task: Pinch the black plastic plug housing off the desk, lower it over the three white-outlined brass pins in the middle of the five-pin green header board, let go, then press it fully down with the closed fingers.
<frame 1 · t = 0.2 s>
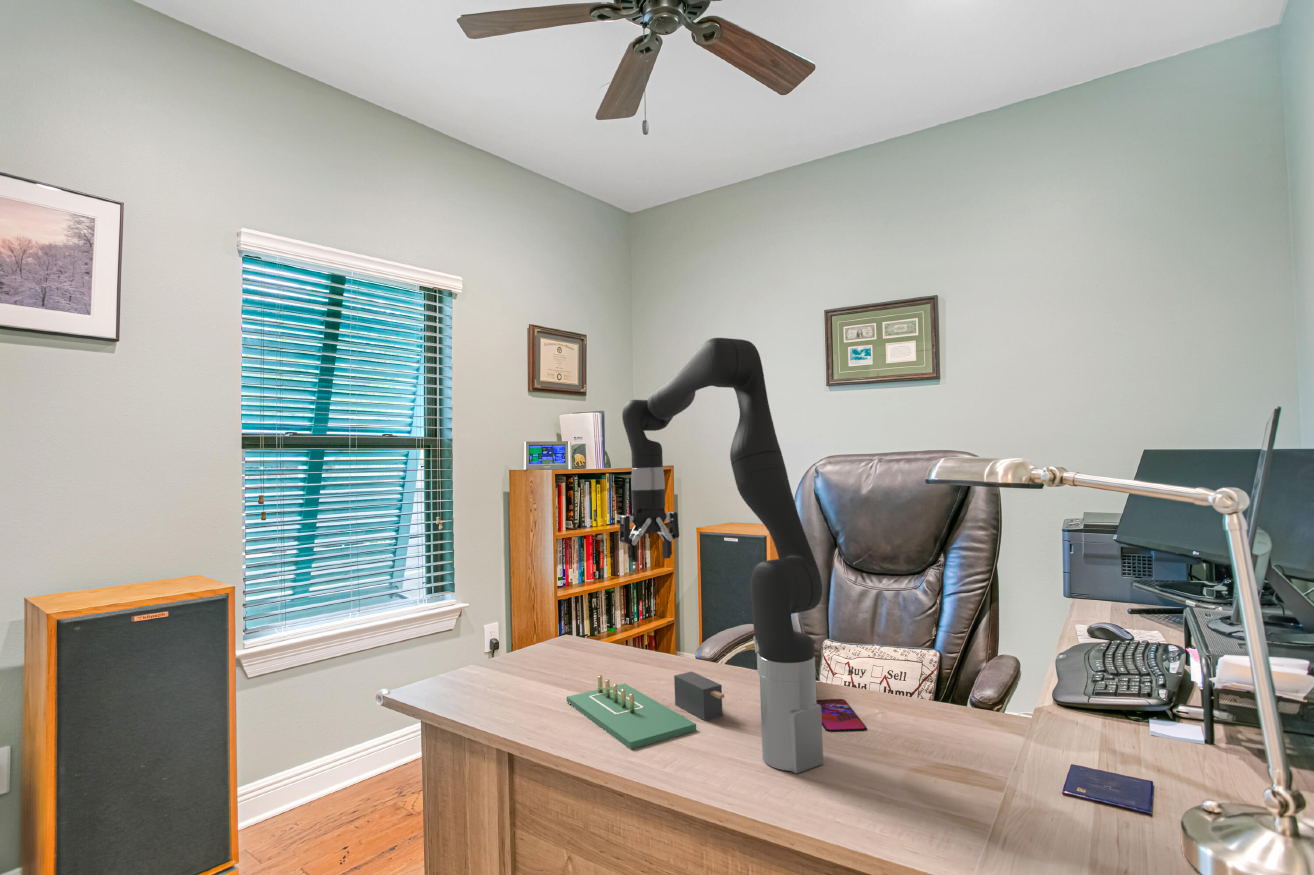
hand: (650, 559, 149), 28 cm above the table, fingers open, 8 cm apart
header board: (627, 715, 132), on the table
geiger counter: (765, 682, 149), on the table
smartphone: (836, 718, 129), on the table
plug housing: (698, 710, 134), on the table
header pins: (615, 693, 137), on the header board, point 3 cm above the table
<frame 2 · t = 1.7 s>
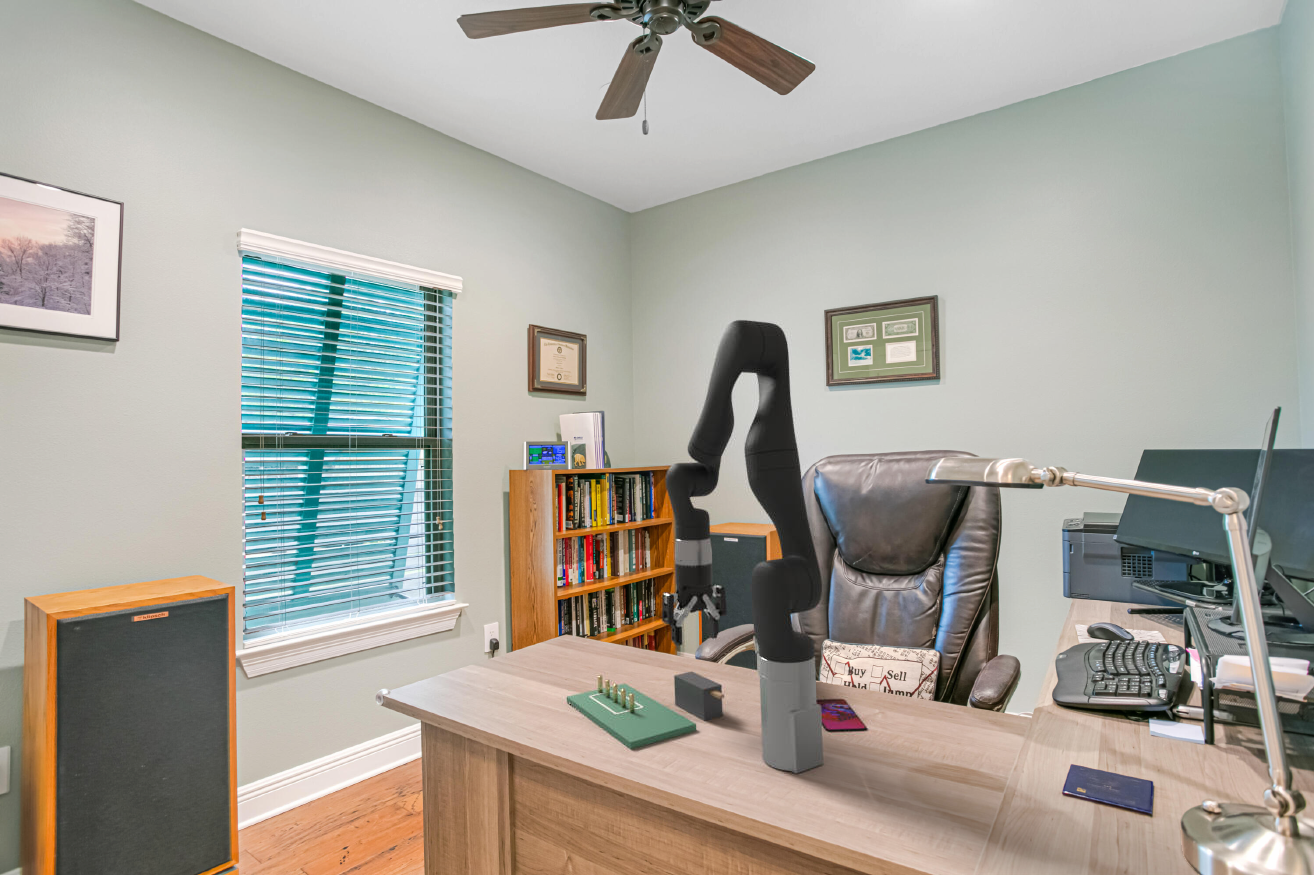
hand: (695, 641, 134), 14 cm above the table, fingers open, 8 cm apart
nothing on the table moved.
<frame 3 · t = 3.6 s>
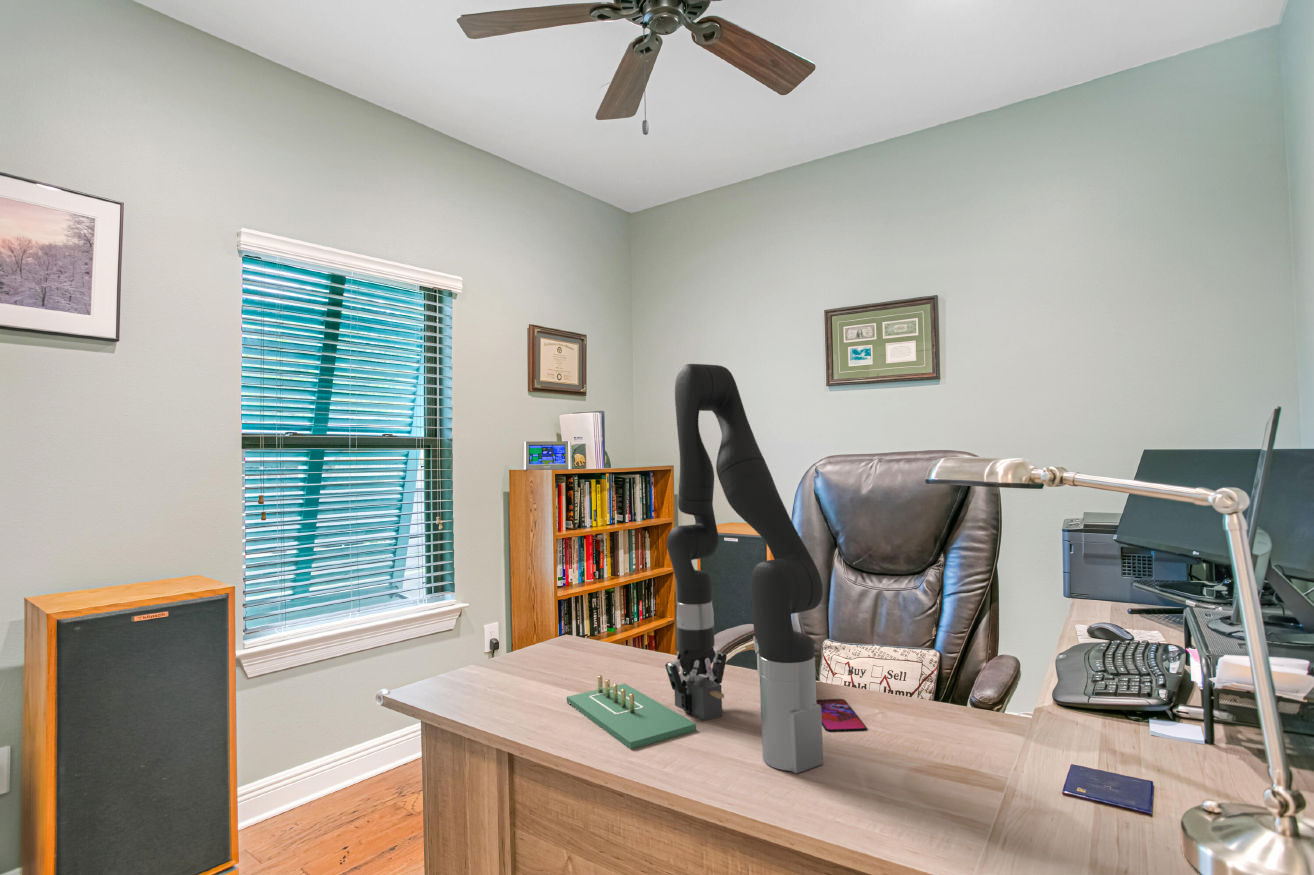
hand: (698, 708, 134), 0 cm above the table, fingers closed on plug housing, 4 cm apart
plug housing: (698, 710, 134), on the table, touching gripper
everything else where it was.
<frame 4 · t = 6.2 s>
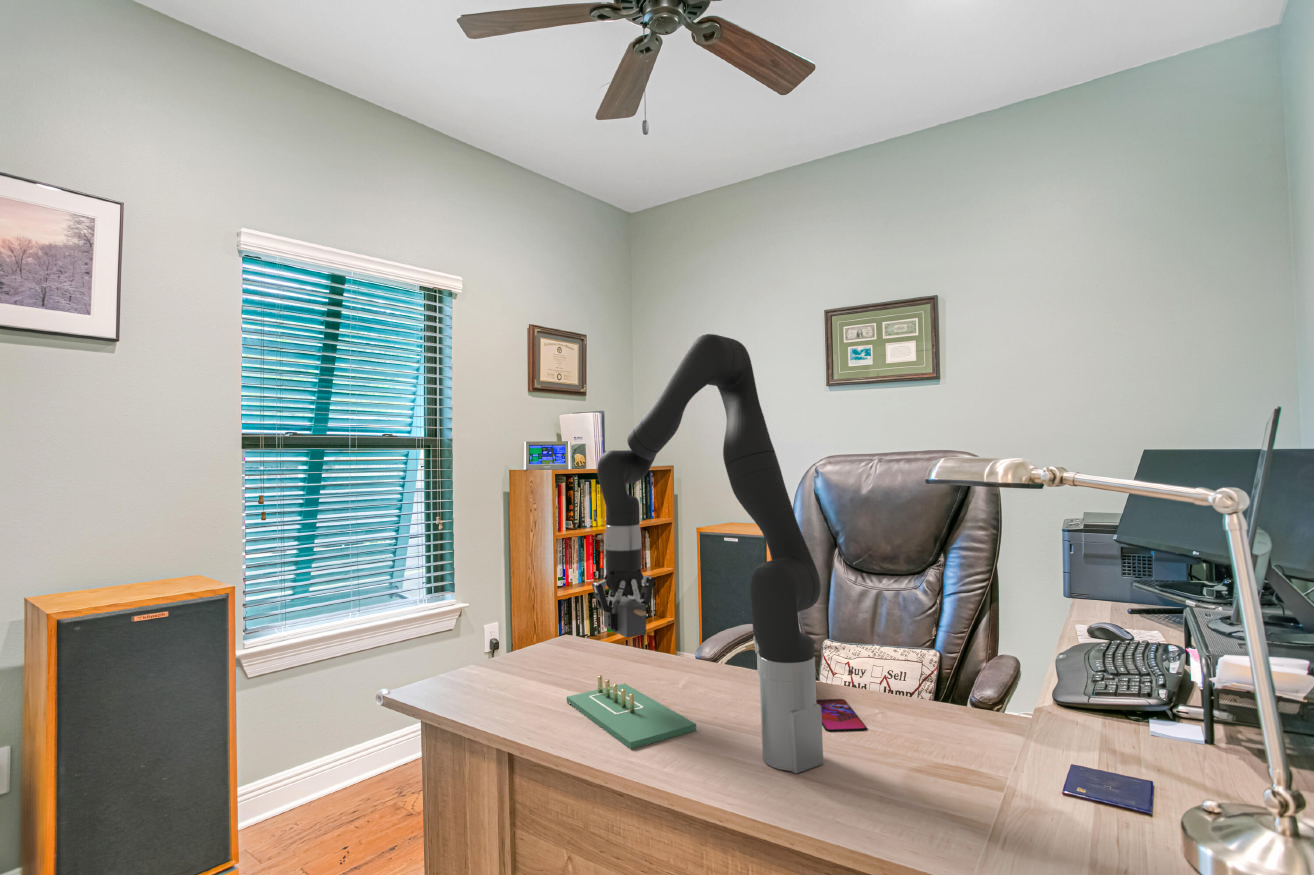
hand: (624, 628, 137), 16 cm above the table, fingers closed on plug housing, 4 cm apart
plug housing: (624, 630, 137), point 16 cm above the table, touching gripper
everything else where it was.
when the fingers open (2 cm above the table, at t = 8.9 s): plug housing stays where it is, resting on header board.
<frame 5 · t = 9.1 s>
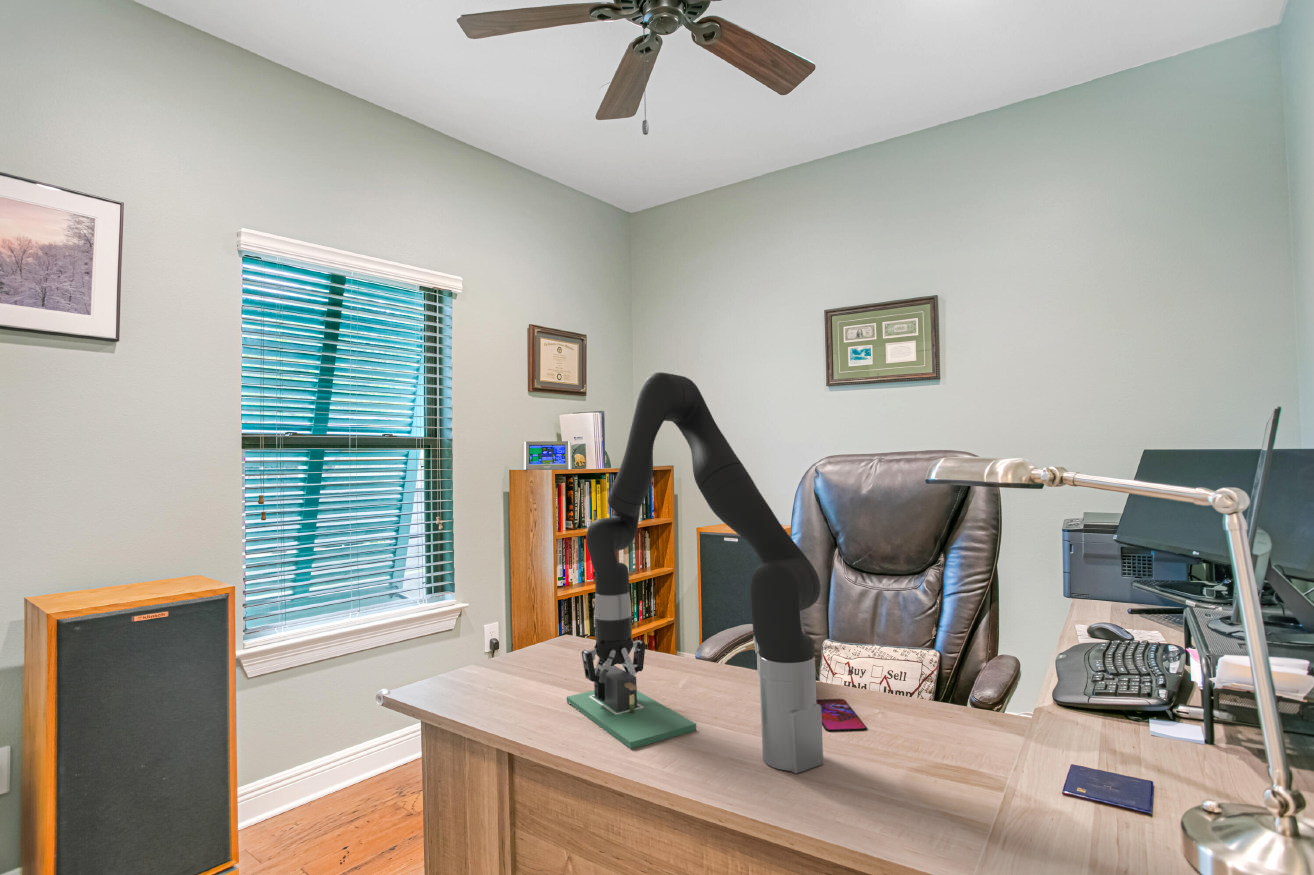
hand: (615, 696, 136), 2 cm above the table, fingers open, 6 cm apart
plug housing: (615, 701, 136), point 1 cm above the table, touching header board
everything else where it was.
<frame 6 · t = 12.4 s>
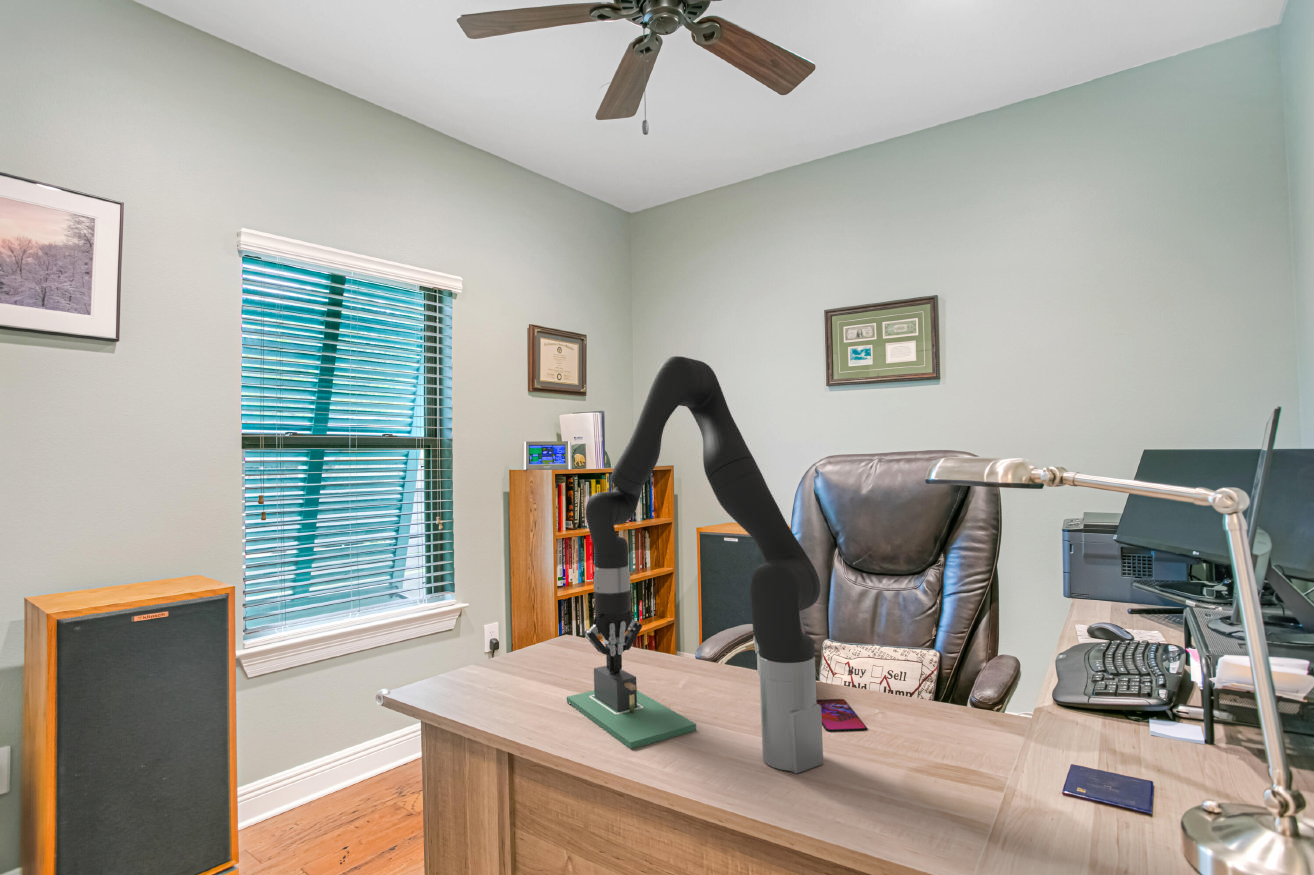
hand: (614, 672, 137), 7 cm above the table, fingers closed
plug housing: (615, 701, 136), point 1 cm above the table, touching gripper, header board
everything else where it was.
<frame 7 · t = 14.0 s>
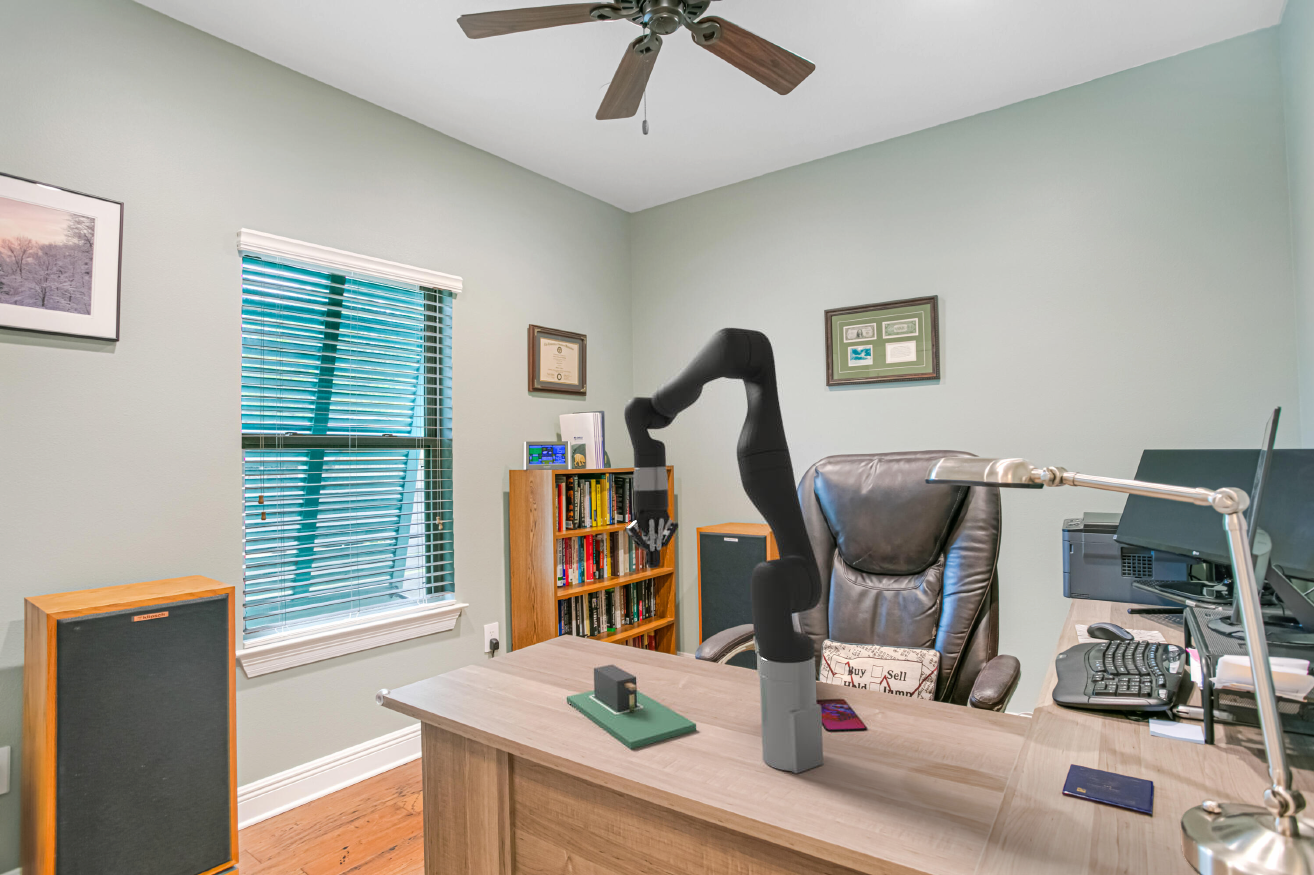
hand: (653, 567, 145), 27 cm above the table, fingers closed
plug housing: (615, 701, 136), point 1 cm above the table, touching header board
everything else where it was.
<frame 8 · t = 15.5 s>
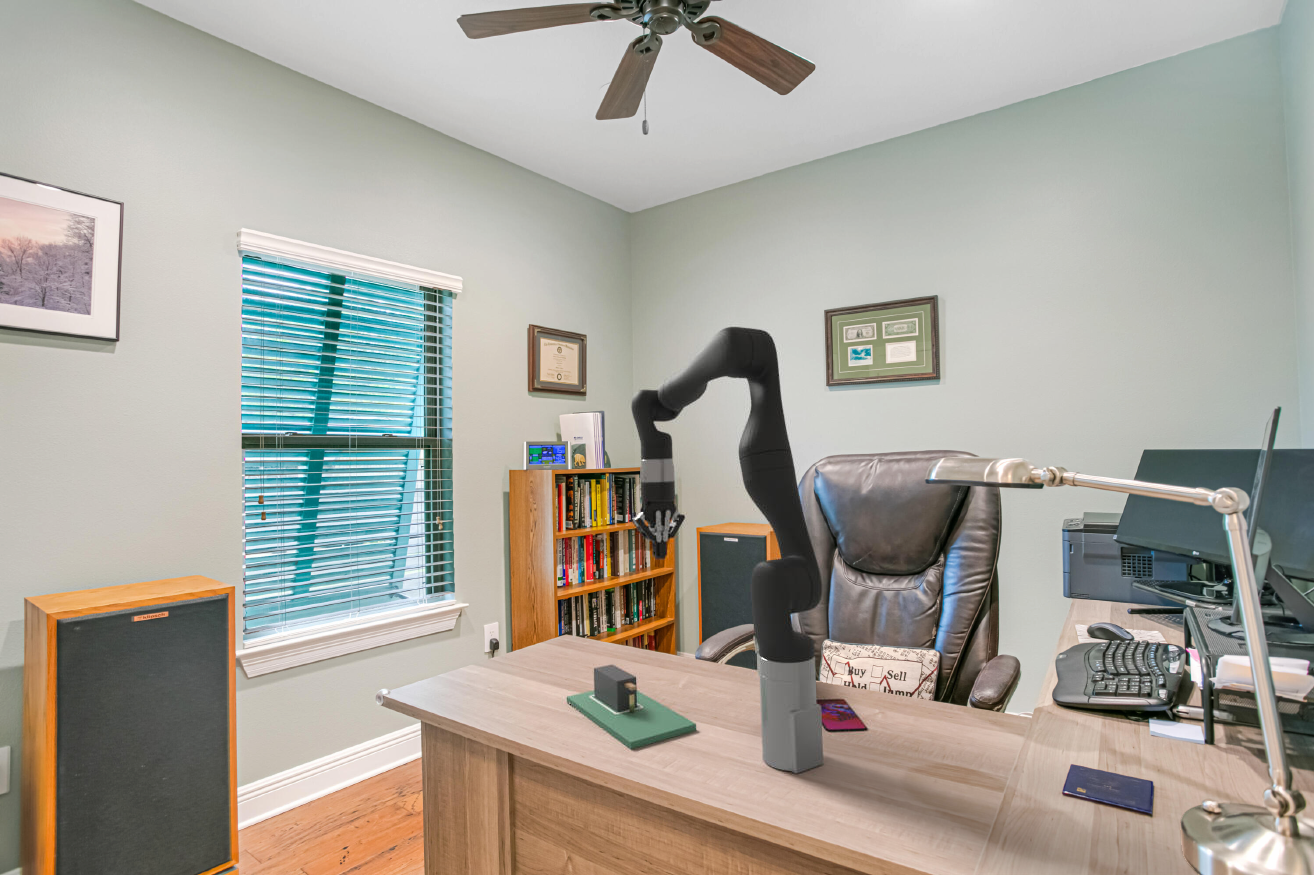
hand: (660, 558, 146), 29 cm above the table, fingers closed
nothing on the table moved.
at the end: plug housing 0.1 cm from the target spot on the header pins, point 1.2 cm above the header pins's base; plug housing tilted 0°; the gripper is holding nothing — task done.
